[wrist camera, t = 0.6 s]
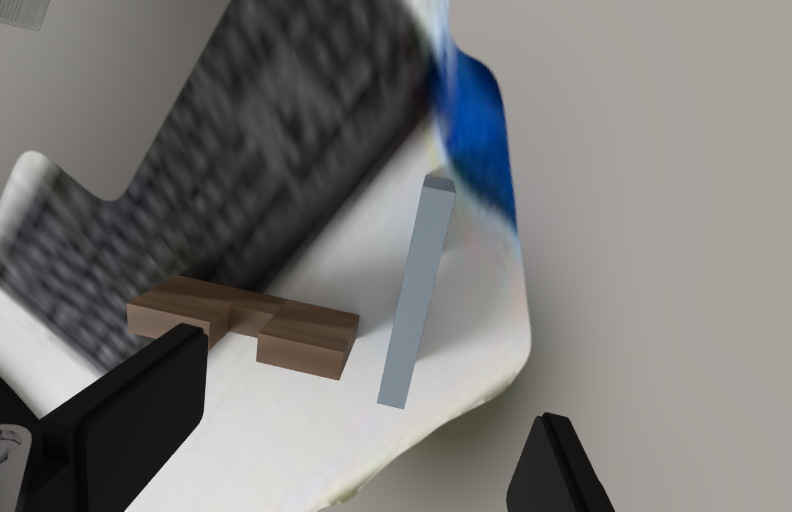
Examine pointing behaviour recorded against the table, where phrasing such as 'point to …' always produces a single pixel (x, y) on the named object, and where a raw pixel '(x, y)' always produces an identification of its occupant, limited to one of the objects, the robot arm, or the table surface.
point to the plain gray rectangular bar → (416, 288)
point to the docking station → (14, 409)
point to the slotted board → (250, 323)
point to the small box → (23, 13)
